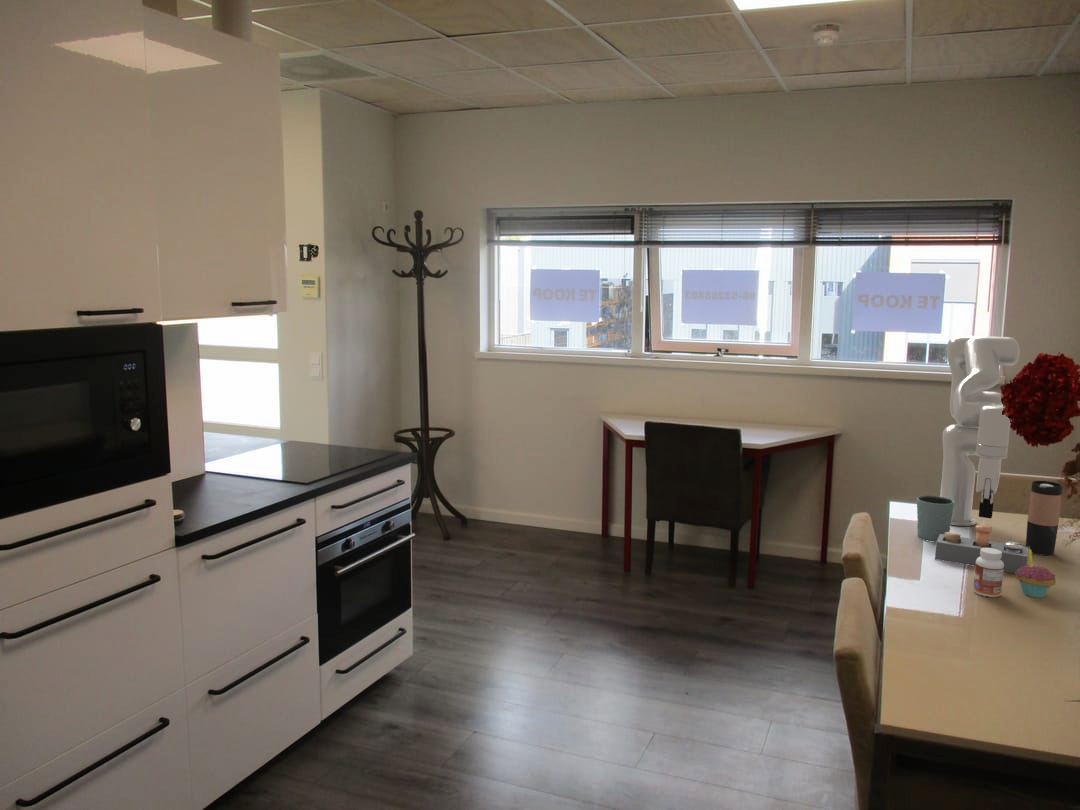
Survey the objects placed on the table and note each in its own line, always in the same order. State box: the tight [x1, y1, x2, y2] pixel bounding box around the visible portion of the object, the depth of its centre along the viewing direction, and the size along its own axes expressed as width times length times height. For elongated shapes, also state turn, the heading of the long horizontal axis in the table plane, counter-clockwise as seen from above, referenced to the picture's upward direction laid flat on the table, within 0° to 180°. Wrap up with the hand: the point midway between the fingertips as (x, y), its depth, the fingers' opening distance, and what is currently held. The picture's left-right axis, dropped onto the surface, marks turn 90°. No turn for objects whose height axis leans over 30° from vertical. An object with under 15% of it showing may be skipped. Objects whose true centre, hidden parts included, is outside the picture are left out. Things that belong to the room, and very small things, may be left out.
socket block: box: [934, 534, 1029, 574], centre depth 231 cm, size 9×22×5 cm, turn 59°
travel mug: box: [1025, 480, 1063, 556], centre depth 240 cm, size 8×8×20 cm
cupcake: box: [1015, 547, 1057, 599], centre depth 208 cm, size 9×8×12 cm
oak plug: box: [944, 531, 961, 543], centre depth 235 cm, size 4×4×6 cm
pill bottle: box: [972, 548, 1004, 598], centre depth 208 cm, size 6×6×11 cm
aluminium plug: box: [1004, 540, 1023, 553], centre depth 227 cm, size 4×4×6 cm
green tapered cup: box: [916, 494, 954, 543], centre depth 252 cm, size 10×10×12 cm
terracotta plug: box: [974, 523, 993, 548], centre depth 231 cm, size 4×4×6 cm
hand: (985, 516), depth 229 cm, fingers closed
